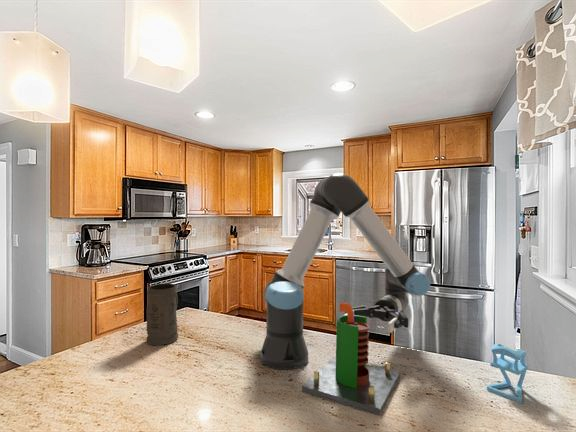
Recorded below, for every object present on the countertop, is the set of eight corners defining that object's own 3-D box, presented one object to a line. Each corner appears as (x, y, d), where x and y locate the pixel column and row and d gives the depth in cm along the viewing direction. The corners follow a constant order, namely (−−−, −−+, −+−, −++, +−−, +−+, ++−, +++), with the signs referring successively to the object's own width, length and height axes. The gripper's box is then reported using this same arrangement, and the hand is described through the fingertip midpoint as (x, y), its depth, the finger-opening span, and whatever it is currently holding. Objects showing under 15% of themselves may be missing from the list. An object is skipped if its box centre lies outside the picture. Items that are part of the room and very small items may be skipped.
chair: (532, 392, 84) (532, 346, 84) (520, 403, 79) (520, 353, 79) (498, 380, 90) (498, 337, 91) (486, 389, 85) (486, 343, 86)
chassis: (301, 391, 84) (302, 374, 84) (333, 361, 102) (333, 347, 102) (380, 415, 73) (380, 395, 74) (399, 377, 92) (399, 361, 92)
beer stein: (171, 346, 112) (171, 288, 113) (140, 346, 113) (141, 288, 113) (185, 331, 128) (186, 280, 128) (158, 331, 128) (159, 280, 128)
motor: (369, 390, 82) (370, 310, 82) (334, 385, 84) (334, 307, 84) (368, 371, 92) (369, 300, 92) (336, 368, 94) (337, 298, 94)
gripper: (425, 325, 107) (410, 345, 89) (353, 312, 120) (328, 328, 103) (425, 302, 107) (410, 318, 89) (354, 292, 121) (328, 304, 103)
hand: (366, 323), depth 96 cm, fingers open, 13 cm apart
